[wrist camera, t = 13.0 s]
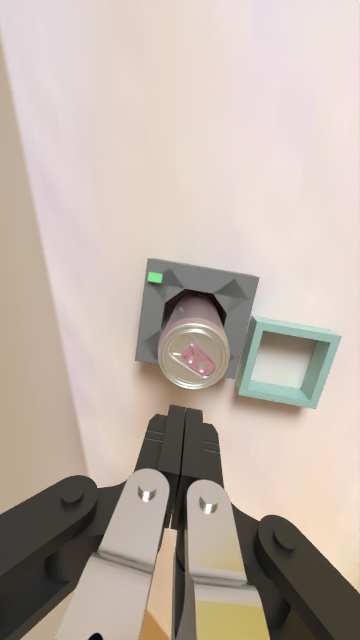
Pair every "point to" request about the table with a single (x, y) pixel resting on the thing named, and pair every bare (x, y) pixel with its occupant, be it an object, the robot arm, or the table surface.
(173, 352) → the beverage can
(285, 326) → the teal square frame
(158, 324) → the port
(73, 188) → the table surface
